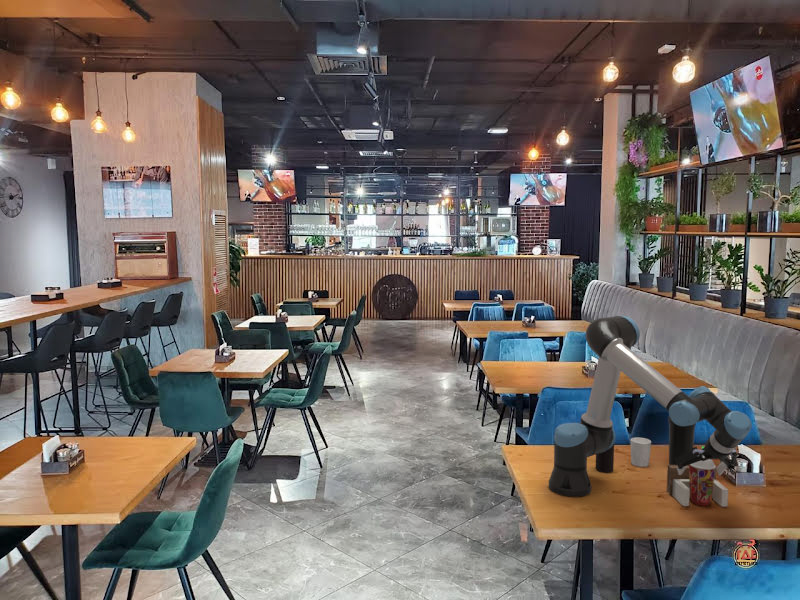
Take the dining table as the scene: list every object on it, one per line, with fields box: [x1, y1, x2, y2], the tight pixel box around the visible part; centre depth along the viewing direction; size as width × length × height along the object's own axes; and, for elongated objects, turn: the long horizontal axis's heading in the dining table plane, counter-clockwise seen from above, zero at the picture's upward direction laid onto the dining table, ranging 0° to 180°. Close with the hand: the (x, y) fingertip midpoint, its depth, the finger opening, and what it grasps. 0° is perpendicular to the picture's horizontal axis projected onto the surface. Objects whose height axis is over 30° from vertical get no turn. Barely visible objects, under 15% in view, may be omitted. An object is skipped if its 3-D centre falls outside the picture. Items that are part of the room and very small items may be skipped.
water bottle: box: [667, 416, 697, 465], centre depth 246 cm, size 10×10×23 cm
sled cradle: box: [671, 479, 729, 508], centre depth 213 cm, size 9×15×6 cm, turn 88°
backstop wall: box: [666, 464, 717, 496], centre depth 220 cm, size 3×16×10 cm, turn 88°
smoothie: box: [689, 446, 717, 507], centre depth 212 cm, size 8×8×20 cm
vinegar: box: [595, 443, 615, 474], centre depth 242 cm, size 7×7×20 cm
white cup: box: [630, 437, 652, 468], centre depth 249 cm, size 8×8×10 cm
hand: (698, 471), depth 214 cm, fingers open, 13 cm apart
